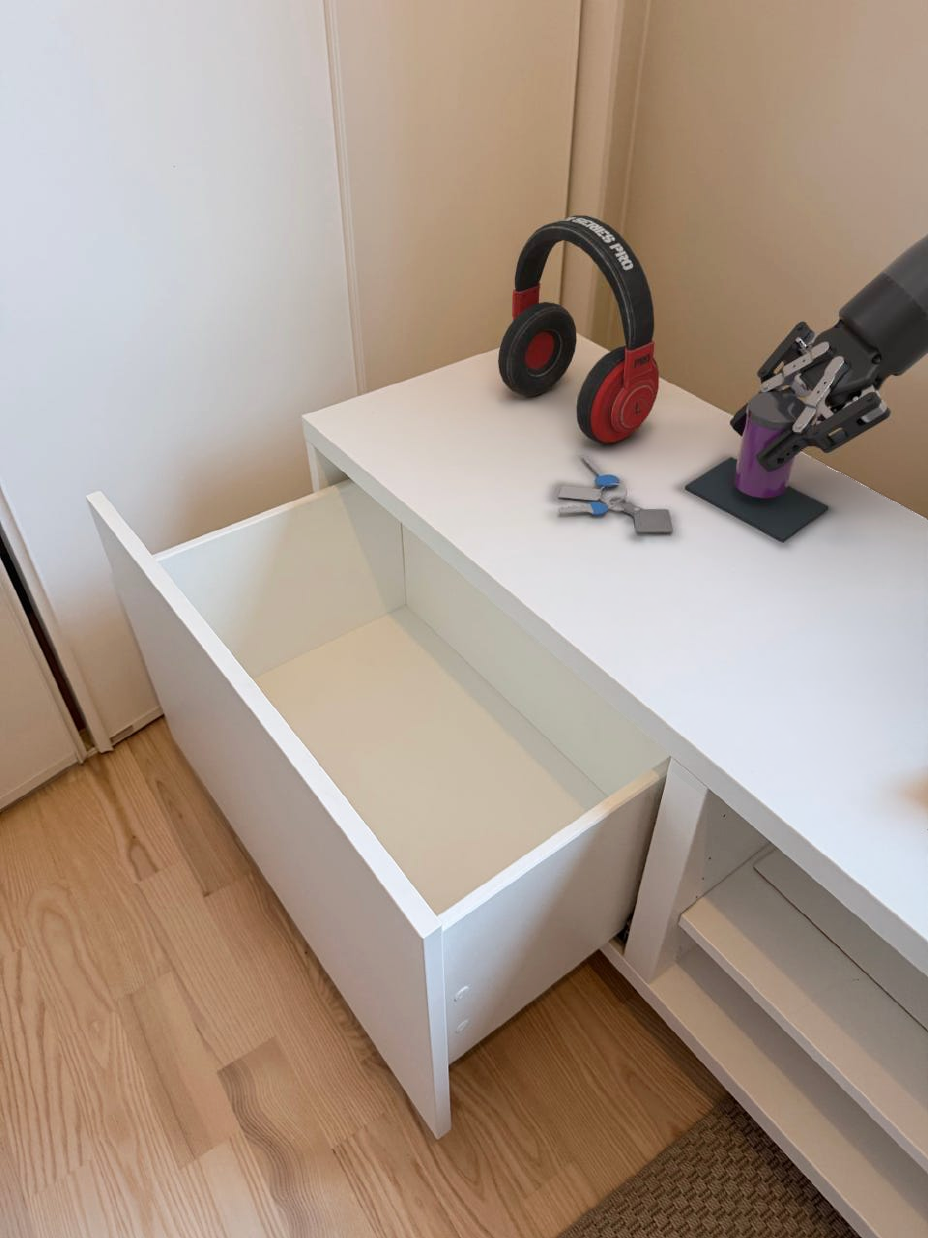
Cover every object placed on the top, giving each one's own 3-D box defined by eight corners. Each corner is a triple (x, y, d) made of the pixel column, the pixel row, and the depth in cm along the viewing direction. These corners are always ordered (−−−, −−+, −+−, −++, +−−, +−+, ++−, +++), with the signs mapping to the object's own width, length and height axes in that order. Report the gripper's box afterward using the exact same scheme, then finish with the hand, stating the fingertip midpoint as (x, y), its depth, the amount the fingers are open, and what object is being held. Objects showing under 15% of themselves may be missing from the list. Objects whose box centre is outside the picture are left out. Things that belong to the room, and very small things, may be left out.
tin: (799, 483, 86) (819, 406, 80) (766, 506, 83) (785, 428, 78) (754, 460, 88) (770, 385, 83) (721, 482, 86) (735, 406, 81)
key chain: (686, 526, 84) (687, 519, 84) (619, 562, 81) (619, 555, 80) (583, 457, 93) (584, 450, 92) (518, 487, 89) (519, 480, 89)
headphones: (667, 433, 96) (697, 237, 82) (596, 469, 91) (614, 268, 77) (554, 367, 106) (563, 183, 92) (485, 396, 101) (483, 208, 88)
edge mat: (828, 509, 86) (829, 506, 86) (782, 542, 83) (783, 539, 82) (730, 459, 92) (731, 456, 92) (684, 488, 89) (685, 485, 88)
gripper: (850, 239, 79) (694, 384, 86) (945, 315, 69) (760, 473, 76) (889, 293, 83) (738, 426, 90) (985, 372, 73) (806, 516, 80)
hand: (749, 447), depth 83 cm, fingers closed on tin, 5 cm apart
